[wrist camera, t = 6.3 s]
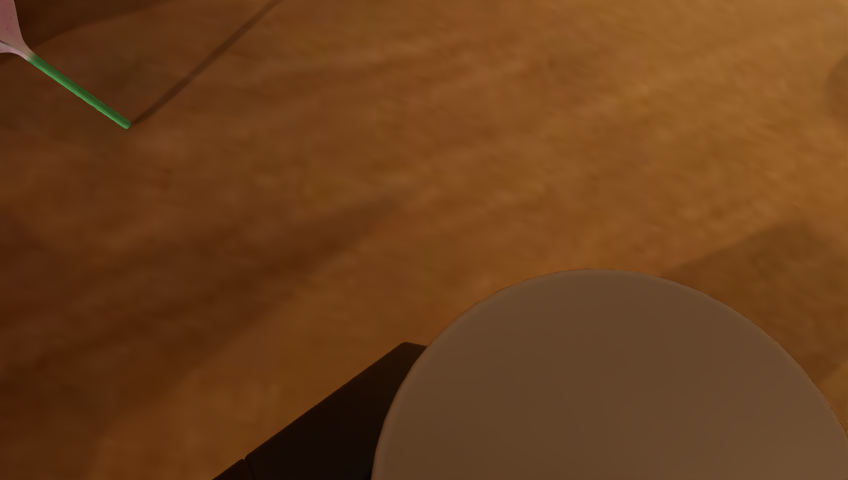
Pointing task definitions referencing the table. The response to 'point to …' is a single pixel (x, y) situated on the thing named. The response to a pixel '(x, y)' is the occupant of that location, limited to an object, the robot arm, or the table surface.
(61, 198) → the table surface
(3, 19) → the lily
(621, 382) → the cylinder
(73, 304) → the table surface
